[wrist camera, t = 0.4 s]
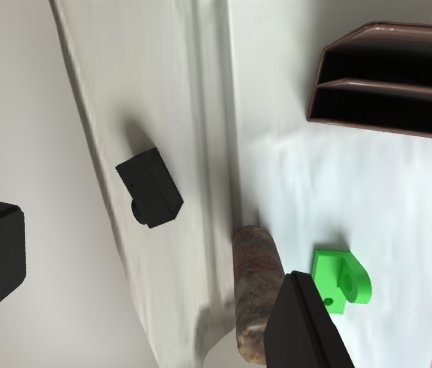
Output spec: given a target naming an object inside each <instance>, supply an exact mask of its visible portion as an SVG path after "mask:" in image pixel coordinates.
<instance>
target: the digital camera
mask: <svg viewBox="0 0 432 368" xmlns="http://www.w3.org/2000/svg"><path fill="white" fill-rule="evenodd" d="M115 168H116V170H117V172H118V173H119V175H120V177H121V179H122V180H123V182H124V184H125V186H126V188H127V189H128V191H129V193H130V195H131V197H132V198H133V200H132V203H131V207H132V212H133V214H134V217H135V218H136V220H137V221H138V222H139V223H140V224H143V225H145V224H147V225H148V227H149V228H150V229H151V228H153V227H156V226H159V225H161V224H164V223H166V222H169V221H172V220H174V219H175V218H176V216H177V214H178V212H179V210H180V208H181V206H182V204H183V203H184V201H183V199H182V197H181V195H180V193H179V191H178V189H177V187H176V185H175V183H174V181H173V179H172V177H171V175H170V173H169V171H168V169H167V168H166V166H165V164H164V162H163V160H162V158H161V156H160V154H159V152H158V150H157V148H156V147H155V148H153V149H151V150H149V151H145V152H143V153H141V154H139V155H137V156H135V157H133V158H131V159H129V160H127V161H125V162H123V163H121V164H119V165H117V166H116V167H115Z"/></svg>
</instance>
